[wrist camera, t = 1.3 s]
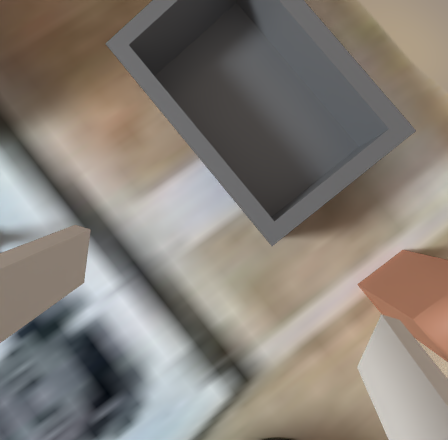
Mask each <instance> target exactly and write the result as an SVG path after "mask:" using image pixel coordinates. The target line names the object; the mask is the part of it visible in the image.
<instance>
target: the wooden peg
mask: <svg viewBox="0 0 448 440" xmlns="http://www.w3.org/2000/svg"><path fill="white" fill-rule="evenodd" d="M358 286H359V287H360V288H361V289H362V291H363V292H364V293H365V294H366V295H367V297H368V298H369V299H370V300H371V301H372V303H373V304H374V305H375V306H376V307H377V309H378V310H379V311H380V312H381V314H383V315H385V316H388V317H392V318H395V319H399V320H400V321H401V322H402V323H403V324H404V326H405V327H406V328H407V329H408V331H409V332H410V333H411V334H412V336H413V337H414V338H416V339H417V340H418V341H420V342H421V343H423V344H424V345H425V346H427V347H428V348H429V349H431V350H432V351H434V352H435V353H436V354H438V355H439V356H440V357H442V358H443V359H444V360H446V361H447V362H448V260H445V259H441V258H437V257H432V256H428V255H423V254H419V253H414V252H410V251H405V250H402V251H401V252H399V253H398V254H397V255H395V256H394V257H393V258H392V259H390V260H389V261H388V262H386V263H385V264H384V265H382V266H381V267H380V268H379V269H377V270H376V271H375V272H373V273H372V274H371V275H369V276H368V277H367V278H365V279H364V280H363V281H362V282H360V283H359V284H358Z"/></svg>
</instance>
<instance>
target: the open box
mask: <svg viewBox="0 0 448 440" xmlns="http://www.w3.org/2000/svg"><path fill="white" fill-rule="evenodd" d="M106 45H107V46H108V47H109V49H110V50H111V51H112V52H113V54H114V55H115V56H116V57H117V58H118V60H119V61H120V62H121V63H122V65H123V66H124V67H125V68H126V69H127V71H128V72H129V73H130V74H131V76H132V77H133V78H134V79H135V80H136V82H137V83H138V84H139V85H140V87H141V88H142V89H143V90H144V91H145V93H146V94H147V95H148V96H149V97H150V99H151V100H152V101H153V102H154V104H155V105H156V106H157V107H158V108H159V110H160V111H161V112H162V113H163V114H164V116H165V117H166V118H167V119H168V121H169V122H170V123H171V124H172V125H173V127H174V128H175V129H176V130H177V131H178V133H179V134H180V135H181V136H182V138H183V139H184V140H185V141H186V142H187V144H188V145H189V146H190V147H191V149H192V150H193V151H194V152H195V153H196V155H197V156H198V157H199V158H200V159H201V161H202V162H203V163H204V164H205V166H206V167H207V168H208V169H209V170H210V172H211V173H212V174H213V175H214V176H215V178H216V179H217V180H218V181H219V183H220V184H221V185H222V186H223V187H224V189H225V190H226V191H227V192H228V193H229V195H230V196H231V197H232V198H233V200H234V201H235V202H236V203H237V204H238V206H239V207H240V208H241V209H242V210H243V212H244V213H245V214H246V215H247V217H248V218H249V219H250V220H251V221H252V223H253V224H254V225H255V226H256V228H257V229H258V230H259V231H260V232H261V234H262V235H263V236H264V237H265V238H266V240H267V241H268V242H269V243H270V244H271V246H273V245H274V244H275V243H277V242H278V241H279V240H280V239H282V238H283V237H284V236H285V235H287V234H288V233H289V232H290V231H292V230H293V229H294V228H295V227H297V226H298V225H299V224H300V223H302V222H303V221H304V220H305V219H307V218H308V217H309V216H310V215H312V214H313V213H314V212H315V211H317V210H318V209H319V208H320V207H322V206H323V205H324V204H325V203H327V202H328V201H329V200H330V199H332V198H333V197H334V196H335V195H337V194H338V193H339V192H340V191H342V190H343V189H344V188H345V187H347V186H348V185H349V184H350V183H352V182H353V181H354V180H355V179H357V178H358V177H359V176H360V175H362V174H363V173H364V172H365V171H367V170H368V169H369V168H370V167H372V166H373V165H374V164H375V163H377V162H378V161H379V160H380V159H382V158H383V157H384V156H385V155H387V154H388V153H389V152H390V151H392V150H393V149H394V148H395V147H397V146H398V145H399V144H400V143H402V142H403V141H404V140H405V139H407V138H408V137H409V136H410V135H412V134H413V133H414V132H415V131H416V130H415V129H414V128H413V127H412V125H411V124H410V123H409V122H408V121H407V120H406V119H405V117H404V116H403V115H402V114H401V113H400V112H399V110H398V109H397V108H396V107H395V106H394V105H393V103H392V102H391V101H390V100H389V99H388V98H387V96H386V95H385V94H384V93H383V92H382V91H381V89H380V88H379V87H378V86H377V85H376V84H375V83H374V81H373V80H372V79H371V78H370V77H369V76H368V74H367V73H366V72H365V71H364V70H363V69H362V67H361V66H360V65H359V64H358V63H357V62H356V60H355V59H354V58H353V57H352V56H351V55H350V53H349V52H348V51H347V50H346V49H345V48H344V47H343V45H342V44H341V43H340V42H339V41H338V40H337V38H336V37H335V36H334V35H333V34H332V33H331V31H330V30H329V29H328V28H327V27H326V26H325V24H324V23H323V22H322V21H321V20H320V19H319V17H318V16H317V15H316V14H315V13H314V12H313V11H312V9H311V8H310V7H309V6H308V5H307V4H306V2H305V1H304V0H152V1H151V2H150V3H149V4H148V5H147V6H146V7H145V8H144V9H143V10H141V11H140V12H139V13H138V14H137V15H136V16H135V17H134V18H133V19H132V20H131V21H130V22H128V23H127V24H126V25H125V26H124V27H123V28H122V29H121V30H120V31H119V32H118V33H116V34H115V35H114V36H113V37H112V38H111V39H110V40H109V41H108V42H107V43H106Z"/></svg>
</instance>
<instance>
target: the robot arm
mask: <svg viewBox="0 0 448 440" xmlns="http://www.w3.org/2000/svg"><path fill="white" fill-rule="evenodd" d="M89 238H90V229H87V228H84V227H80V226H77V225H74V226H71V227H68V228H66V229H63V230H60V231H58V232H55V233H52V234H50V235H47V236H45V237H42V238H39V239H37V240H34V241H31V242H29V243H26V244H23V245H21V246H18V247H16V248H13V249H10V250H8V251H5V252H2V253H0V343H1V342H2V341H4V340H5V339H6V338H8V337H9V336H11V335H12V334H13V333H15V332H16V331H18V330H19V329H20V328H22V327H23V326H24V325H26V324H27V323H29V322H30V321H31V320H33V319H34V318H36V317H37V316H38V315H40V314H41V313H43V312H44V311H45V310H47V309H48V308H50V307H51V306H52V305H54V304H55V303H57V302H58V301H59V300H61V299H62V298H63V297H65V296H66V295H68V294H69V293H70V292H72V291H73V290H75V289H76V288H77V287H79V286H80V285H82V284H83V283H84V278H85V270H86V262H87V254H88V246H89ZM357 368H358V370H359V372H360V375H361V377H362V379H363V382H364V384H365V386H366V389H367V391H368V393H369V396H370V398H371V400H372V403H373V405H374V407H375V410H376V412H377V414H378V417H379V419H380V421H381V424H382V426H383V428H384V430H385V433H386V435H387V437H388V440H448V379H447V378H446V376H445V375H444V374H443V373H442V371H441V370H440V369H439V368H438V366H437V365H436V364H435V363H434V362H433V360H432V359H431V358H430V357H429V355H428V354H427V353H426V352H425V350H424V349H423V348H422V347H421V345H420V344H419V343H418V342H417V340H416V339H415V338H414V337H413V336H412V334H411V333H410V332H409V331H408V329H407V328H406V327H405V326H404V324H403V323H402V322H401V321H400V320H399V319H395V318H392V317H388V316H385V315H382V314H381V316H380V318H379V321H378V323H377V325H376V327H375V329H374V331H373V334H372V336H371V338H370V340H369V342H368V345H367V347H366V349H365V351H364V353H363V356H362V358H361V360H360V362H359V364H358V367H357ZM265 440H289V439H265Z"/></svg>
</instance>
